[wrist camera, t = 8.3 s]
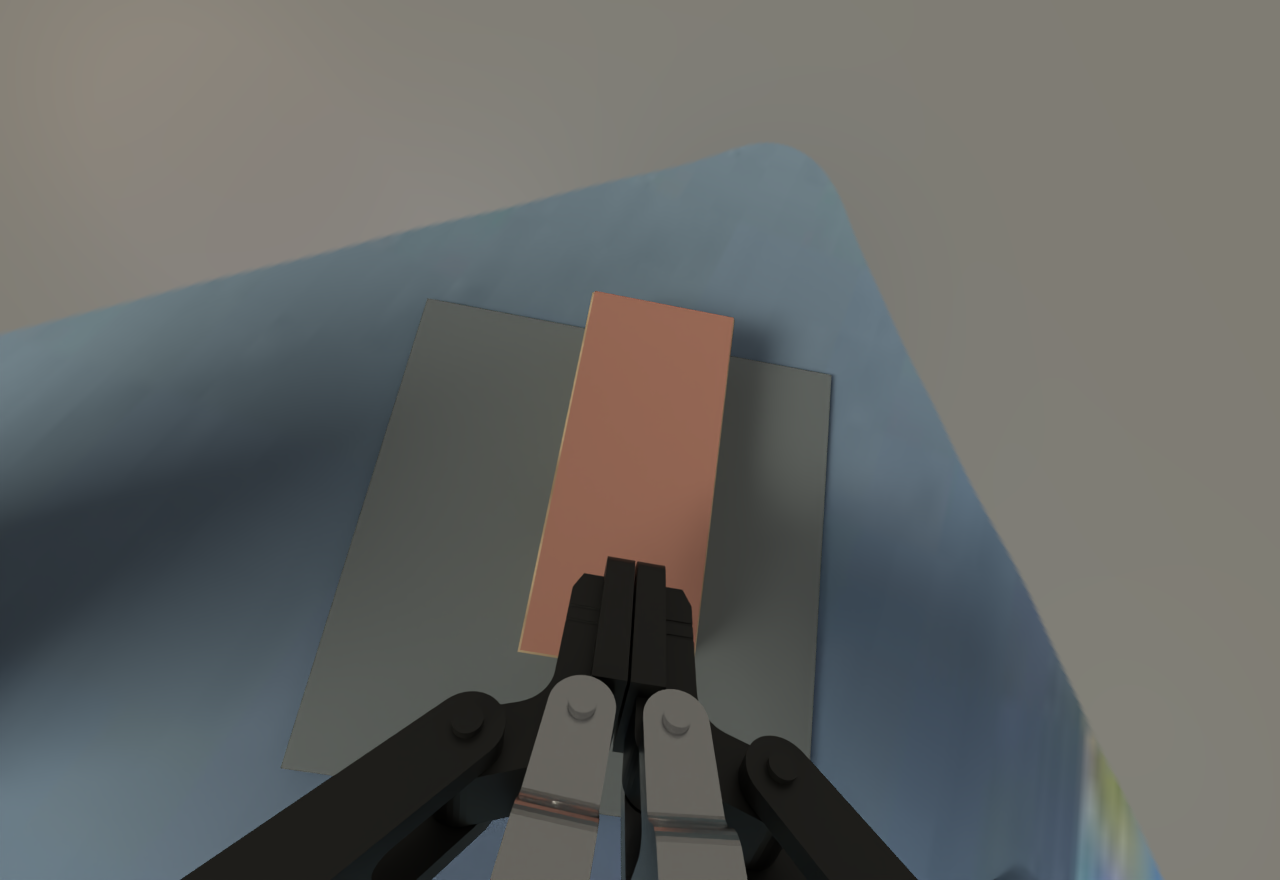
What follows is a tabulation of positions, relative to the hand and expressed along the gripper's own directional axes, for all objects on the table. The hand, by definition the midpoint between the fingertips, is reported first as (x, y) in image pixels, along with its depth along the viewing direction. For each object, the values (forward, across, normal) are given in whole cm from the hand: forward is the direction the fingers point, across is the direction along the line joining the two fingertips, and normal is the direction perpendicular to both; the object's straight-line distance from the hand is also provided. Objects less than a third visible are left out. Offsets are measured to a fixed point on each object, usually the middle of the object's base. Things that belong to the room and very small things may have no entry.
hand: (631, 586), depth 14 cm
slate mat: (+8, -1, -6) cm, 10 cm away
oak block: (+3, 0, -7) cm, 8 cm away
